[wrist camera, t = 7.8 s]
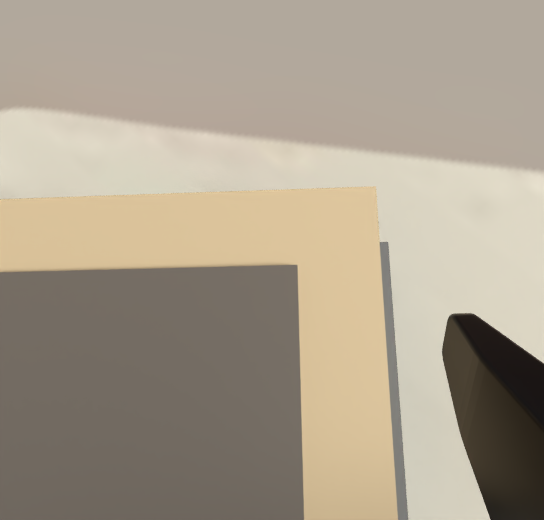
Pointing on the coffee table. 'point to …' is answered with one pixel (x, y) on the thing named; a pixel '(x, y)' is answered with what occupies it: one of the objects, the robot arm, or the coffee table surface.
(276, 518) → the kraft box
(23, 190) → the coffee table surface
